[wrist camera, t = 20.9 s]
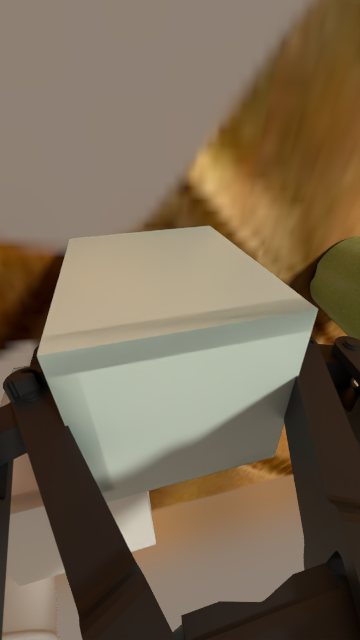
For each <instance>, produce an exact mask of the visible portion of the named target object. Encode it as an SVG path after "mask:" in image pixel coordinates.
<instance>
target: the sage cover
mask: <svg viewBox="0 0 360 640" xmlns="http://www.w3.org/2000/svg"><path fill="white" fill-rule="evenodd" d="M317 312H318V308H316V307H315V306H314V305H312V304H311V303H310V302H308V301H307V300H306V299H304V298H303V297H302V296H301V295H299V294H298V293H297V292H295V291H294V290H293V289H291V288H290V287H289V286H288V285H286V284H285V283H284V282H282V281H281V280H280V279H278V278H277V277H276V276H275V275H273V274H272V273H271V272H269V271H268V270H267V269H265V268H264V267H263V266H261V265H260V264H259V263H258V262H256V261H255V260H254V259H252V258H251V257H250V256H248V255H247V254H246V253H245V252H243V251H242V250H241V249H239V248H238V247H237V246H235V245H234V244H233V243H232V242H230V241H229V240H228V239H226V238H225V237H224V236H222V235H221V234H220V233H218V232H217V231H216V230H215V229H213V228H212V227H211V226H201V227H190V228H179V229H168V230H157V231H146V232H135V233H124V234H113V235H102V236H92V237H81V238H70V240H69V243H68V247H67V250H66V254H65V257H64V261H63V264H62V268H61V271H60V275H59V278H58V282H57V285H56V289H55V292H54V296H53V299H52V303H51V306H50V310H49V313H48V317H47V321H46V324H45V328H44V331H43V335H42V338H41V342H40V345H39V349H38V352H37V358H38V361H39V363H40V365H41V368H42V370H43V373H44V375H45V378H46V380H47V383H48V385H49V388H50V390H51V393H52V395H53V397H54V400H55V402H56V405H57V407H58V410H59V412H60V415H61V417H62V420H63V422H64V424H65V426H67V425H68V426H69V428H70V430H71V432H72V434H73V436H74V438H75V441H76V443H77V445H78V447H79V449H80V451H81V453H82V455H83V457H84V459H85V461H86V463H87V465H88V467H89V469H90V471H91V473H92V475H93V477H94V479H95V481H96V483H97V485H98V487H99V489H100V491H101V493H102V495H103V497H104V499H105V501H106V502H109V501H113V500H117V499H120V498H124V497H128V496H131V495H135V494H139V493H143V492H146V491H150V490H154V489H157V488H161V487H165V486H168V485H172V484H176V483H179V482H183V481H187V480H190V479H194V478H198V477H201V476H205V475H209V474H212V473H216V472H220V471H223V470H227V469H231V468H234V467H238V466H242V465H245V464H249V463H253V462H256V461H260V460H264V459H267V458H271V457H274V456H275V453H276V449H277V446H278V443H279V439H280V436H281V433H282V429H283V426H284V416H285V413H286V409H287V406H288V402H289V399H290V396H291V392H292V389H293V385H294V382H295V379H296V376H299V372H300V369H301V366H302V362H303V359H304V356H305V352H306V349H307V346H308V342H309V339H310V335H311V332H312V329H313V325H314V322H315V319H316V315H317Z"/></svg>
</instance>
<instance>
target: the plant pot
mask: <svg viewBox="0 0 360 640" xmlns="http://www.w3.org/2000/svg"><path fill="white" fill-rule="evenodd" d="M310 293H311V296H312V298H313V300H314V301H315V302H316V304H318V305H319V307H320V308H321V309H322V310H323V311H324V312H325V313H326V314H327V315H328V316H329V317H330V318H331V319H332V320H333V321H334V322H335V323H336V324H337V325H338V326H339V327H340V328H341V329H342V330H343V331H344V332H345V333H346V334H347V335H348V336H349V337H354V338H356V339H358V340H360V237H352V238H348V239H346V240H344V241H341V242H340V243H338V244H337V245H335V246H334V247H333V248H331V249H330V250H329V251H328V252H327V253H326V254H325V255H324V256H323V257H322V259H321V260H320V261H319V263H318V265H317V270H316V274H315V276H314V278H313V280H312V281H311V283H310Z"/></svg>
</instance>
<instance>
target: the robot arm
mask: <svg viewBox="0 0 360 640" xmlns="http://www.w3.org/2000/svg"><path fill="white" fill-rule="evenodd" d="M39 345H40V344H39ZM39 345H38V347H37V348H36V349H35V350H34V353H33V357H32V360H31V363H30V364H31V365H30V367H25V368H22V369H19V370H17V371H15V372H13V373H12V374H10V375H9V376H8V377H7V378H6V379H5V381H4V383H3V389H4V390H5V393H6V394H7V396H8V398H9V400H10V403H8V404H6V405H4V406H2V407H0V640H2V628H3V613H4V598H5V583H6V568H7V553H8V538H9V523H10V508H11V493H12V478H13V463H14V459H16V458H18V457H20V456H22V455H24V454H26V453H27V454H28V457H29V460H30V463H31V466H32V469H33V472H34V476H35V479H36V482H37V485H38V488H39V491H40V494H41V497H42V501H43V504H44V507H45V510H46V513H47V516H48V519H49V522H50V526H51V529H52V532H53V535H54V538H55V541H56V544H57V547H58V551H59V554H60V557H61V560H62V563H63V566H64V569H65V572H66V576H67V579H68V582H69V585H70V588H71V591H72V594H73V597H74V601H75V603H76V607H77V610H78V614H79V625H80V630H81V635H82V639H83V640H360V340H358V339H356V338H354V337H349V336H341V337H338V338H337V339H335V342H334V345H325V344H317V342H316V341H315V340H314V339H312V338H311V337H310V339H309V342H308V346H307V349H306V352H305V356H304V359H303V362H302V366H301V369H300V372H299V376H296V379H295V382H294V385H293V389H292V392H291V396H290V399H289V402H288V406H287V409H286V413H285V416H284V423H285V429H286V435H287V440H288V446H289V452H290V458H291V464H292V470H293V475H294V481H295V487H296V493H297V499H298V504H299V510H300V516H301V522H302V528H303V534H304V544H305V545H304V569H305V570H304V571H301V572H299V573H296V574H293V575H292V576H291V577H290V578H289V579H288V580H287V581H285V582H284V583H283V584H282V585H281V586H280V587H279V588H278V589H276V590H275V591H274V593H272V594H271V595H270V596H269V597H268V598H267V599H265V600H264V601H262V602H217V603H214V604H212V605H209V606H206V607H204V608H201V609H198V610H195V611H192V612H190V613H187V614H184V615H182V616H181V617H182V625H180V626H179V627H178V628H177V629H176V630H175V631H174V632H172V630H171V628H170V626H169V624H168V622H167V620H166V618H165V617H164V614H163V612H162V610H161V608H160V606H159V604H158V602H157V600H156V598H155V596H154V594H153V592H152V590H151V588H150V586H149V584H148V582H147V580H146V578H145V577H144V575H143V573H142V571H141V569H140V568H139V566H138V565H137V563H136V561H135V559H134V557H133V556H132V553H131V551H130V549H129V547H128V545H127V543H126V541H125V539H124V537H123V535H122V533H121V531H120V529H119V527H118V525H117V523H116V521H115V519H114V517H113V515H112V513H111V511H110V509H109V507H108V505H107V503H106V501H105V499H104V497H103V495H102V493H101V491H100V489H99V487H98V485H97V483H96V481H95V479H94V477H93V475H92V473H91V471H90V469H89V467H88V465H87V463H86V461H85V459H84V457H83V455H82V453H81V451H80V449H79V447H78V445H77V443H76V441H75V438H74V436H73V434H72V432H71V430H70V428H69V426H68V425H67V426H65V424H64V422H63V420H62V417H61V415H60V412H59V410H58V407H57V405H56V402H55V400H54V397H53V395H52V393H51V390H50V388H49V385H48V383H47V380H46V378H45V375H44V373H43V370H42V368H41V365H40V363H39V361H38V358H37V352H38V349H39ZM354 380H356V382H357V383H358V385H359V386H358V387H357V386H356V385H355V383H354Z"/></svg>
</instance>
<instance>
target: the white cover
mask: <svg viewBox="0 0 360 640" xmlns="http://www.w3.org/2000/svg"><path fill="white" fill-rule="evenodd" d="M25 367H30V366H25ZM25 367H19V368H14V369H13V371H12V373H13V372H15V371H17V370H19V369H22V368H25ZM8 403H10V400H9V398H8V396H7V394H6V393H4V396H3V399H2V401H1V404H0V407H2V406H4V405H6V404H8ZM106 503H107V505H108V507H109V509H110V511H111V513H112V515H113V517H114V519H115V521H116V523H117V525H118V527H119V529H120V531H121V533H122V535H123V537H124V539H125V541H126V543H127V545H128V547H129V549H130V551H131V552H132V551H136V550H139V549H142V548H145V547H149V546H152V545H155V544H156V540H155V532H154V525H153V518H152V511H151V504H150V497H149V491H146V492H143V493H139V494H135V495H131V496H128V497H124V498H120V499H117V500H113V501H109V502H106ZM62 573H65V569H64V566H63V563H62V560H61V557H60V554H59V551H58V547H57V544H56V541H55V538H54V535H53V532H52V529H51V526H50V522H49V519H48V516H47V513H46V510H45V507H44V504H43V501H42V497H41V494H40V491H39V488H38V485H37V482H36V479H35V476H34V472H33V469H32V466H31V463H30V460H29V457H28V454H27V453H26V454H24V455H22V456H20V457H18V458H16V459H14V463H13V478H12V493H11V508H10V523H9V538H8V553H7V568H6V575H7V576H8V577H9V578H11V579H12V580H13V581H14V582H15V583H16V584H17V585H19V586H24V585H27V584H30V583H33V582H36V581H40V580H43V579H46V578H49V577H53V576H56V575H59V574H62Z"/></svg>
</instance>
